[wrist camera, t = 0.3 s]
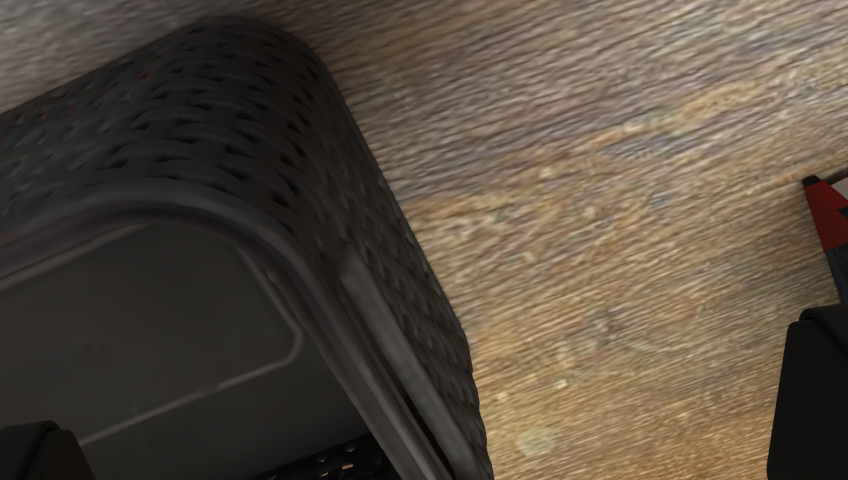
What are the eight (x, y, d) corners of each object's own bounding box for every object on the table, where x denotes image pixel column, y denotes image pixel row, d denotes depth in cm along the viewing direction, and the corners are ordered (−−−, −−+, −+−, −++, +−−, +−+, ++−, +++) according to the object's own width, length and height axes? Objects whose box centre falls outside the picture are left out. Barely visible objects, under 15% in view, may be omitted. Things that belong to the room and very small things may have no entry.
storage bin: (-36, 582, 39) (-199, 918, 27) (-385, 298, 29) (-861, 625, 18) (490, 377, 35) (561, 665, 23) (283, -25, 26) (230, 125, 14)
